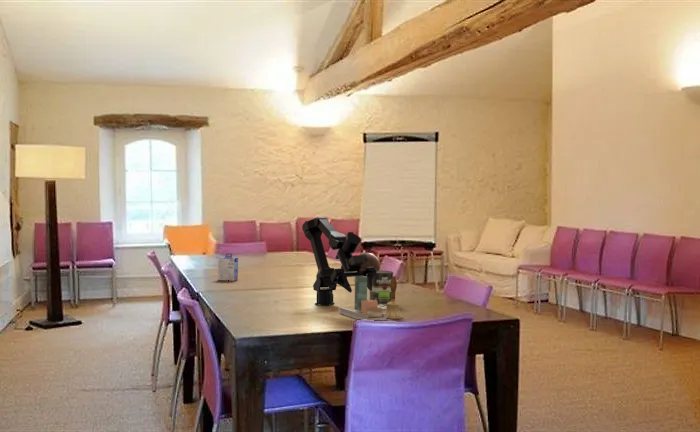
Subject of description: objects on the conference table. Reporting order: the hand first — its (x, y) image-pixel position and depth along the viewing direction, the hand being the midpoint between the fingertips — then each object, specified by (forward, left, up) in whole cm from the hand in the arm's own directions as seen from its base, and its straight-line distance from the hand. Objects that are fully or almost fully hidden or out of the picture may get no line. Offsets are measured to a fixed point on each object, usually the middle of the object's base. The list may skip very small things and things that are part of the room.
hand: (361, 291), depth 265 cm
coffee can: (-7, +31, -10) cm, 33 cm away
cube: (+5, -3, -7) cm, 10 cm away
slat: (+4, -2, -8) cm, 9 cm away
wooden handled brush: (+11, +6, -10) cm, 16 cm away
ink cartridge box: (-112, +54, -10) cm, 125 cm away
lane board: (+3, +4, -10) cm, 11 cm away
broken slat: (+2, +10, -10) cm, 14 cm away
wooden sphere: (-52, +101, -10) cm, 114 cm away
